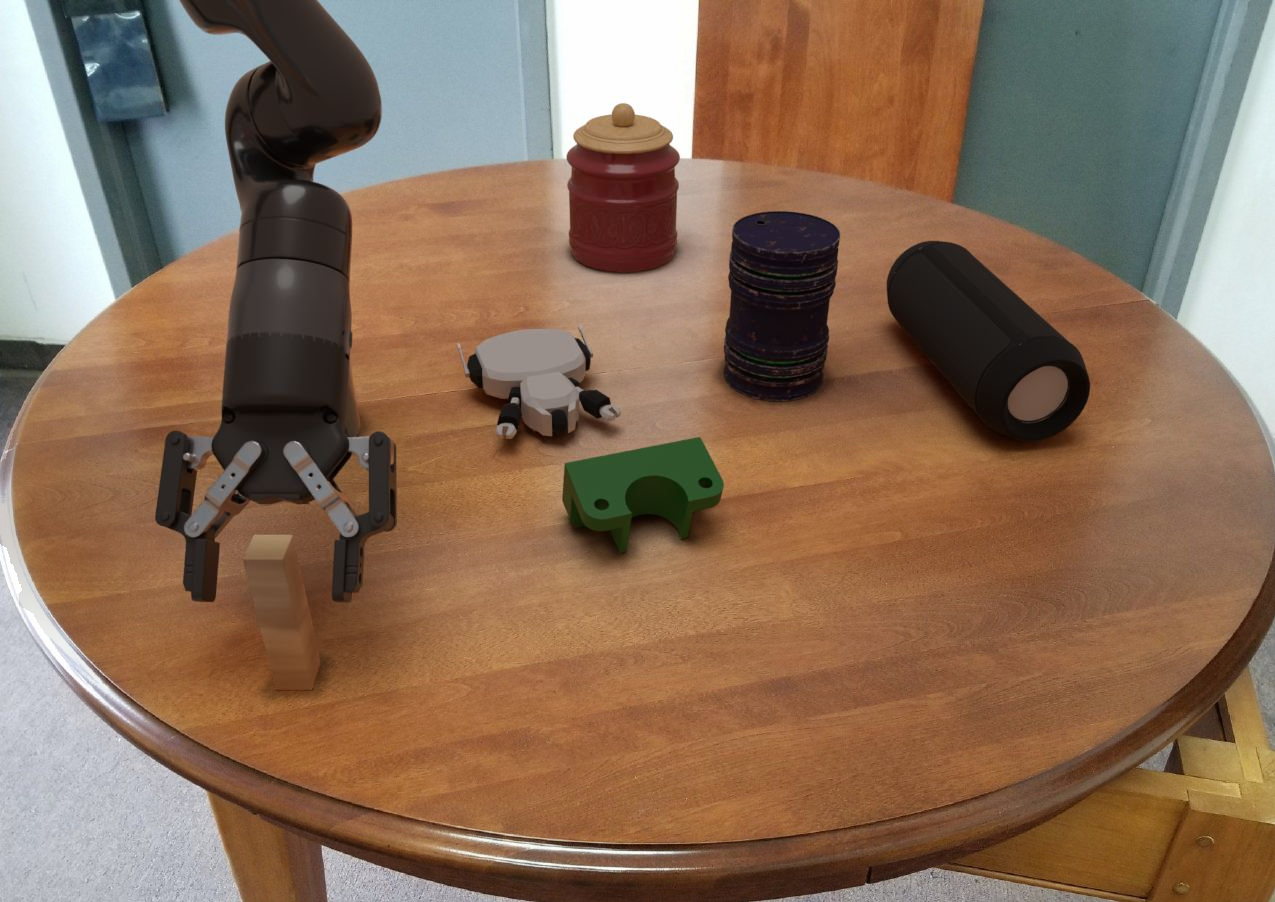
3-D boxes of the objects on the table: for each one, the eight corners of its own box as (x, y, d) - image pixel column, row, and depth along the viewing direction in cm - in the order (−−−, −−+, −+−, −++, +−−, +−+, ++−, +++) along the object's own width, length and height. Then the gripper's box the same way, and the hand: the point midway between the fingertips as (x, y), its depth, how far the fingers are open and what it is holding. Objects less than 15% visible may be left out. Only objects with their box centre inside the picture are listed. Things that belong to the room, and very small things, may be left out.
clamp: (605, 589, 85) (566, 533, 77) (582, 532, 88) (543, 473, 81) (742, 523, 84) (716, 461, 77) (713, 468, 88) (686, 404, 81)
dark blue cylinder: (844, 375, 105) (863, 230, 96) (784, 413, 99) (799, 263, 90) (762, 341, 110) (774, 202, 102) (701, 376, 104) (708, 231, 96)
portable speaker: (1084, 445, 95) (1113, 345, 89) (979, 456, 93) (1002, 355, 87) (958, 317, 115) (976, 229, 110) (871, 324, 114) (884, 235, 108)
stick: (285, 663, 72) (253, 533, 65) (321, 663, 72) (293, 534, 66) (275, 690, 70) (242, 559, 63) (312, 690, 70) (282, 559, 64)
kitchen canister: (612, 223, 137) (611, 81, 127) (697, 247, 130) (704, 100, 120) (546, 256, 128) (540, 106, 118) (635, 284, 121) (636, 128, 112)
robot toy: (628, 442, 96) (579, 354, 107) (630, 400, 93) (579, 315, 104) (494, 467, 92) (457, 374, 103) (491, 424, 90) (454, 334, 101)
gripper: (151, 326, 65) (127, 598, 61) (388, 327, 65) (376, 598, 62) (200, 361, 72) (180, 605, 69) (412, 361, 72) (402, 605, 69)
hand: (272, 601), depth 65 cm, fingers open, 8 cm apart
